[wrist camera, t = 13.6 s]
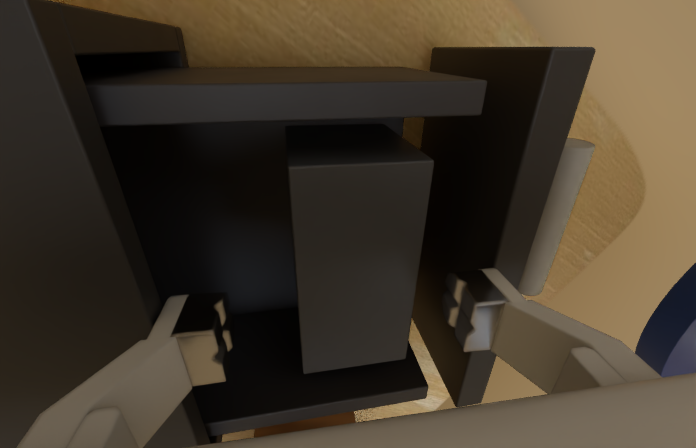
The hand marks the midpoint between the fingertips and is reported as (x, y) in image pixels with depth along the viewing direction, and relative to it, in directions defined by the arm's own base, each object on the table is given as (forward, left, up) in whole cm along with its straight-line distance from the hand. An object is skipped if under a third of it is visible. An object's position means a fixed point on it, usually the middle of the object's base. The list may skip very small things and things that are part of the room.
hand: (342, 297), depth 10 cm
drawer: (-1, 0, -7) cm, 7 cm away
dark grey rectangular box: (-1, 0, -6) cm, 6 cm away
